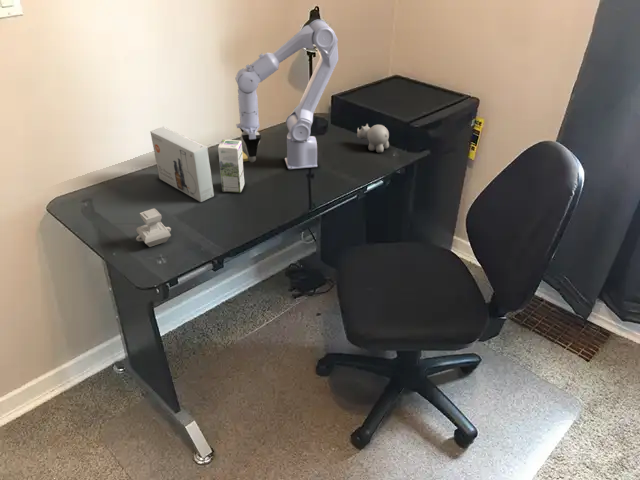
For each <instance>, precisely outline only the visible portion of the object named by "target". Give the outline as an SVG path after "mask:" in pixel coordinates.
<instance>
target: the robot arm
mask: <svg viewBox="0 0 640 480" xmlns="http://www.w3.org/2000/svg"><path fill="white" fill-rule="evenodd" d="M338 42H339V39H338V37H337V35H336V33H335V31H334V29H333V28H332V27H330V26H329V25H328V24H327V22H325V20H323V19H314V20H313V21H311V22H310V23H309V24H307V25H305V26H303V27H302V28H301V29H300V30H299V31H298V32H296V34H294V35H293V36H291V38H289V39H288V40H287V41H286V42H285V43H283V44H282V45H281V46H280V47H279V48H277V49H276V50H275V51H273V52H265V53H263V52H261V53H260V54H259V55H258V58H257V59H256V60H254V61H253V62H252V63H250V64H246V66H245V68H244V67H243V68H241V69H239V70H238V71H237V73H236V76H235V82H236V83H237V93H238V94H237V101H238V102H237V103H238V113H239V123H236V124H235V126H236V129H239V130H240V131H241V133H242V132H243V131H245V132H246V133H248V135H242V138H243V140H244V142H245V144H246V146H247V151H248V154H249V157H255V156H256V157H257V154H258V147H259V145H260V143H259V141H260V142H261V139H262V135H261V134H260V135H256V132H257V131H259V128H260V127H261V124H260V119H259V116H260V115H259V99H258V98H259V97H258V94H257V89H258V87H259V83H262V82H263V81H265V80H266V79H267V78H269V77H270V76H271V75H273V74H274V73H276V72H277V71H278V70H279V68H280V63H282V62H283V61H285V60H286V59H288V58H290V57H291V56H292V55H294V54H296V53H297V52H299V51H300V50H301V49H310V50H311V49H315V47H316V51H317V52H318V55H319V59H318V61H317V63H316V66H315V68H314V70H313V72H312V75H311V76H310V79H309V81H308V83H307V85H306V88H305V90H304V92H303V94H302V96H301V99H300V101H299V103H298V105H297V106H295V107H294V109H293V111H292V112H291V113H290V114H289V115H287V117H286V119H285V126H286V128H287V130H288V133H287V134H286V157H285V158H284V162H285V165H286V167H287V169H288V170H299V169H300V170H301V169H310V168H318V144H317V143H318V142H317V138H316V136H315V135H311V128H312V125H313V122H314V114H315V111H316V109H317V106H318V104H319V102H320V101H321V98H322V96H323V94H324V92H325V90H326V88H327V85H328V83H329V81H330V79H331V77H332V75H333V72H334V70H335V69H336V66H337V63H338V62H339V48H338ZM314 46H315V47H314ZM258 144H259V145H258Z"/></svg>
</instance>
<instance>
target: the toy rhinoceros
mask: <svg viewBox="0 0 640 480" xmlns="http://www.w3.org/2000/svg"><path fill="white" fill-rule="evenodd" d="M359 128H360V127H357V129H356V131H357V133H356V137H357V138H358V139H359V140H363V139H366V140H368V146H367V148H368V150H369V151H373V152H374V151H375V152H377V153H384V150H386V149H388V148H389V147H390V142H389V137H390V132H389V130H388V128H387V127H385V125H383V124H374V125H372V126H371V127H370V126H369V123H366V124H365V126H364V125H361V128H360V129H359Z"/></svg>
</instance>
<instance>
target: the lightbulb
mask: <svg viewBox="0 0 640 480" xmlns="http://www.w3.org/2000/svg"><path fill="white" fill-rule="evenodd" d="M242 135H248V133H246V132H245V131H243V132H242V131H241V135H240V141H241V142H242V147H244V149H245V154H246V155H247V156H248V161H247V162H250V163H254V162H256V161H257V155H256V156H255V157H249V154H248V151H247V146H246V144H245V142H244V140H243V138H242ZM256 135H261V133H260V132H259V130H257V132H256ZM260 143H261V140H260V141H259V144H258V146H259V145H260Z"/></svg>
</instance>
